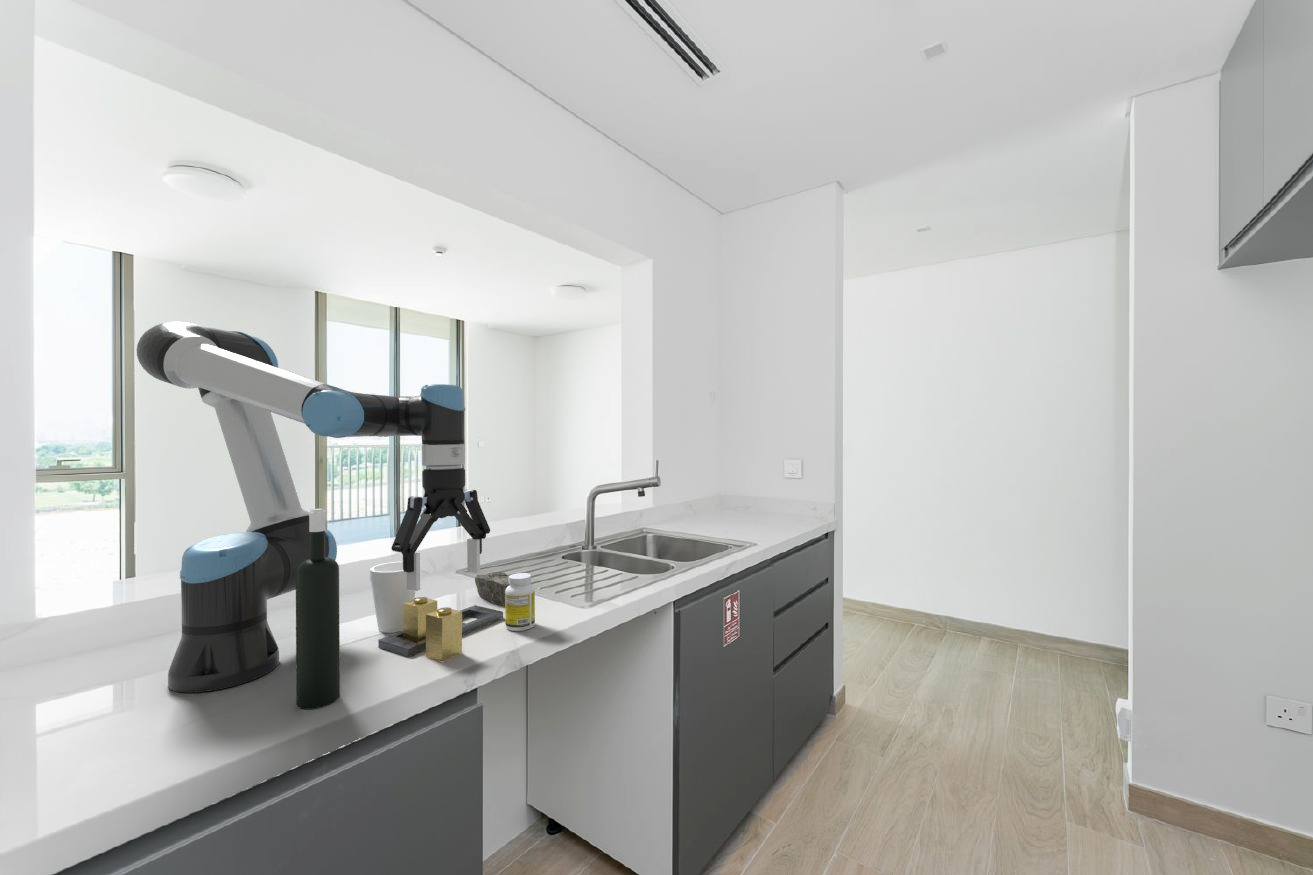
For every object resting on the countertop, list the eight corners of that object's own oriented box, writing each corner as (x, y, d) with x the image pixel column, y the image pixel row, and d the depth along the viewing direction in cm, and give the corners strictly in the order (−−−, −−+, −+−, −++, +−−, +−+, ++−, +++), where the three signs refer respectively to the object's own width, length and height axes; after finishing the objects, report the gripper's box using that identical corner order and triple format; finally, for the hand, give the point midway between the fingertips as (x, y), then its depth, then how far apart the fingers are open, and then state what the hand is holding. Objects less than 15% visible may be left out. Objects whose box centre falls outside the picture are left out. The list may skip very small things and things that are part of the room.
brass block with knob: (417, 647, 106) (417, 603, 106) (403, 643, 108) (403, 600, 108) (437, 639, 110) (437, 597, 110) (422, 635, 112) (422, 594, 112)
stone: (526, 613, 138) (533, 582, 134) (504, 626, 132) (511, 594, 128) (491, 582, 144) (497, 552, 140) (468, 593, 138) (474, 562, 134)
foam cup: (364, 626, 117) (364, 566, 117) (408, 616, 123) (408, 559, 123) (379, 638, 110) (379, 574, 110) (425, 627, 117) (425, 566, 117)
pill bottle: (520, 619, 122) (520, 570, 121) (540, 624, 118) (540, 574, 118) (498, 628, 116) (498, 576, 116) (520, 634, 113) (520, 581, 113)
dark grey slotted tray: (408, 656, 101) (408, 648, 101) (378, 647, 106) (378, 639, 106) (503, 618, 122) (503, 611, 122) (475, 611, 127) (475, 605, 127)
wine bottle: (309, 691, 88) (308, 506, 87) (346, 690, 88) (345, 506, 88) (288, 710, 82) (286, 512, 82) (327, 708, 83) (326, 511, 82)
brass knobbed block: (442, 661, 99) (442, 615, 99) (426, 656, 102) (425, 611, 101) (462, 653, 103) (461, 608, 103) (446, 648, 106) (445, 604, 105)
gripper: (396, 472, 89) (397, 601, 90) (507, 463, 111) (508, 567, 111) (368, 471, 93) (370, 594, 93) (481, 463, 115) (482, 563, 115)
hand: (445, 580), depth 102 cm, fingers open, 13 cm apart
